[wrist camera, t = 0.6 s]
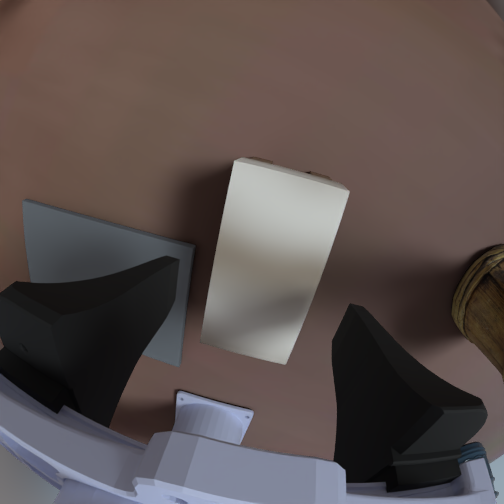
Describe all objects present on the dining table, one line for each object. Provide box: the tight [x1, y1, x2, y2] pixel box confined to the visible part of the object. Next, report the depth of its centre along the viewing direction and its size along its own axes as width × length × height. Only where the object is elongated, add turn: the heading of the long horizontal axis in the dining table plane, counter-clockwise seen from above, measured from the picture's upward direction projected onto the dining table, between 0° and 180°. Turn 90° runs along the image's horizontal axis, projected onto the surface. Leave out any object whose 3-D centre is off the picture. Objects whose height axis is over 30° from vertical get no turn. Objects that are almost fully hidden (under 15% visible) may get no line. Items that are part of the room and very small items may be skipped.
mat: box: [22, 199, 196, 367], centre depth 22 cm, size 18×12×1 cm, turn 77°
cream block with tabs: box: [200, 157, 350, 365], centre depth 16 cm, size 10×5×6 cm, turn 167°
